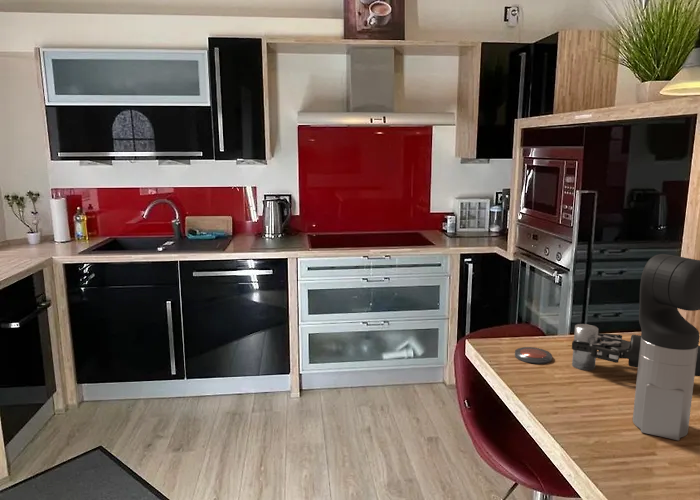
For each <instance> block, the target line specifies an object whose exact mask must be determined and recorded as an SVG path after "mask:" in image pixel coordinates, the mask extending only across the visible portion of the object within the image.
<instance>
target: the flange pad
mask: <svg viewBox="0 0 700 500" xmlns="http://www.w3.org/2000/svg"><path fill="white" fill-rule="evenodd" d="M514 357H515V358H516V359H517V360H519V361H521V362H524V363H528V364H533V365H543V364H545V365H546V364H549V363H551V362H552V360H553V355H552V353H551V352H550V351H548V350H546V349H543V348H540V347H532V346H530V347H529V346H527V347H526V346H524V347H518V348H516V349H515V352H514Z"/></svg>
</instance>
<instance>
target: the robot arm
mask: <svg viewBox="0 0 700 500" xmlns="http://www.w3.org/2000/svg"><path fill="white" fill-rule="evenodd" d="M641 273H642V274H641V276H640V285H639V303H638V304H639V310H638V322H639V326H640V329H641V330H640V331H641V332H640V333H641V335H639V334H631V335H630V341H629V340H625V339H623V335H622V334H613V333H604V332H603V333H602V332H598V340H597V343H590V344H589V342H582V341H576V340H574V339H573V340H572V342H571V350H572V351H573V350H578V351H584V352H589V354H591V357H594V358H596V359H600V360H603V361H608V362H611V363H617V364H618V363H619V361H620V360H619V359H627V360H628V363H627V364H628V366H629V367H631V368H637V371H636V372H637V373H636V381H635V392H634V403H633V414H632V422H633V424H634V425H635V427H636V428H639V429H640V433H644V434H648V435H652V436H657V437H661V438H666V439H669V440H670V439H671V440H675V441H680V439H681V438H684V437H685V436H687V435H688V434H689V427H690V418H691V417H690V416H691V408H692V401H693V391H694V386H695V385H694V384H695V383H694V382H695V377H700V345H699V343H700V332H699V330H698V328H697V327H695V325H693V324H692V323H690V322H689V321H688V320H687V319H686V318H685V317H684V316H683V315H682V314H681V313H680V311H679V310H682V311H690V312H691V311H692V312H695V311H700V259H695V258H689V257H683V256H678V255H672V254H667V253H666V254H665V253H660V254H655V255H654V256H652V257H650V259H648V261H647V262H646V263H645V266H644V267H643V270H642V272H641Z"/></svg>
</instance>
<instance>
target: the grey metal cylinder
mask: <svg viewBox="0 0 700 500" xmlns="http://www.w3.org/2000/svg"><path fill="white" fill-rule="evenodd" d="M598 333H599V327H597V326H596V325H592V324H587V323H577V324H575V325H574V335H573V336H574V337H573V341H574V340H576V341H582V342H589V344H590V343H597V340H598ZM596 360H597V358H594V357H591V354H589V352H584V351H578V350H573V349H572V361H571V366H572V367H573V368H575V369H578V370H580V371H594V370H595V369H596Z"/></svg>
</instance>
